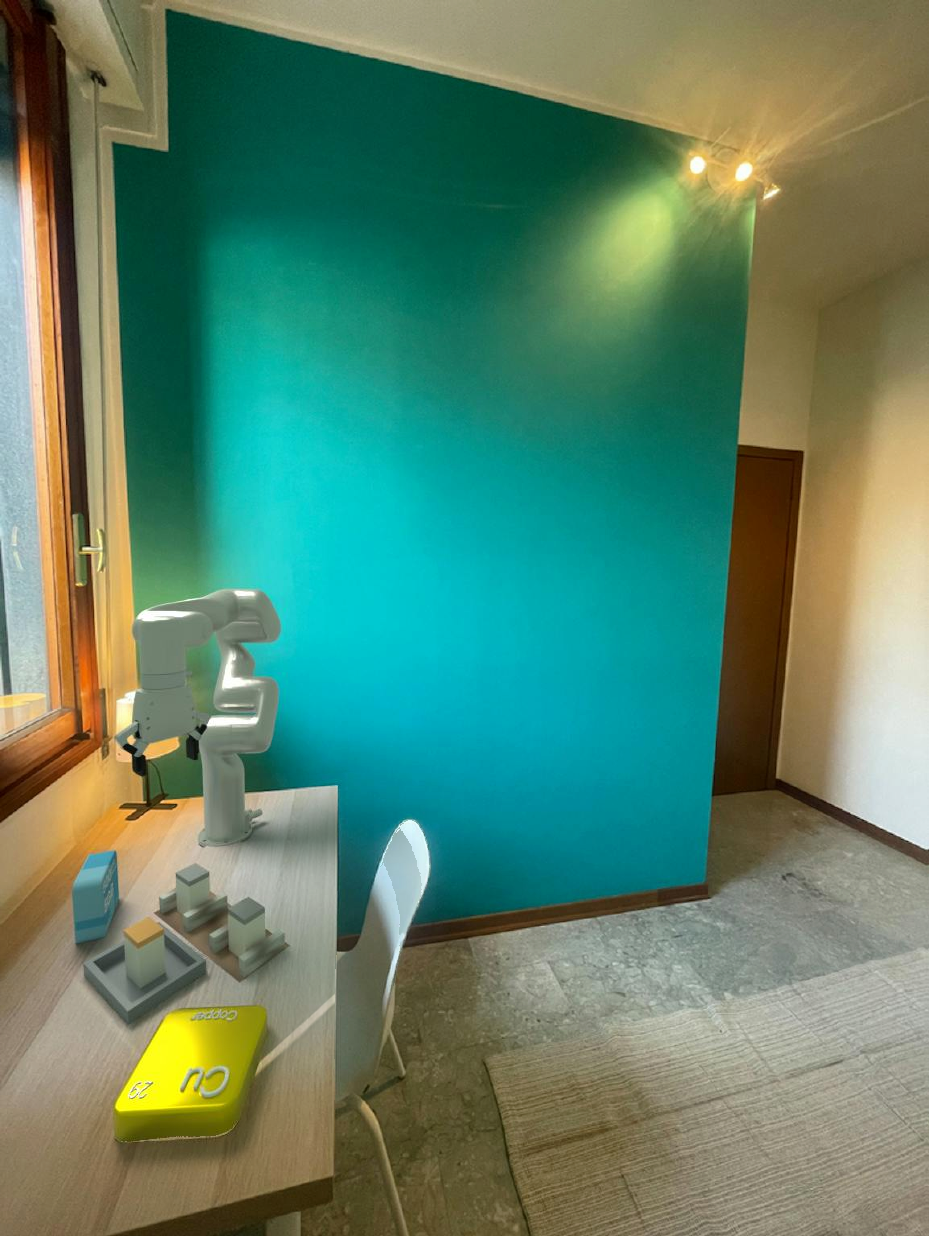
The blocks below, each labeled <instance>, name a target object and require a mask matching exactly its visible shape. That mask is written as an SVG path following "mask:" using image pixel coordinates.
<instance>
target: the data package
mask: <svg viewBox="0 0 929 1236" xmlns="http://www.w3.org/2000/svg"><path fill="white" fill-rule="evenodd" d="M118 872H119V871H118V853H117V850H115V849H114V850H108V851H103V852H96V853H92V854H91V853H90V854H88V856H87V857H86V858H85V861H84V862H83V864H82V867H81V868H80V870H79V872H78V875H77V876H76V878H75V880H74V881H73V885H72V889H71V890H72V891H71V901H72V916H73V928H74V942H75V943H76V944H80V943H85V942H89V941H93V940H98V939H102V938H105V937H106V935H107V933H108V930H109V928H110V924H111V922H112V919H113V917H114V913H115V911H116V908H117V905H118V902H119V900H120V890H119V873H118Z"/></svg>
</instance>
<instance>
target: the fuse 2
mask: <svg viewBox="0 0 929 1236" xmlns="http://www.w3.org/2000/svg"><path fill="white" fill-rule="evenodd" d="M265 929H266V907H265V906H264V905H263V904H261V903H259V902H258V901H256V900H254V899H253V898H252V897H250V896H247V897H245V898H244V899H242V900H240V901H238V902H236V903H235V904H233V905H231V907H230V908H228V932H229V950H230V951H231V952H232V953H234V954H235V955H236V956H238V957H240V956H241V955H243V954H244V953H245V952H247V951H248V950H250V949H251V948H253V947H254V946H256V945H257V944H259V943H260V942H262V941H263V940H264V939H265Z"/></svg>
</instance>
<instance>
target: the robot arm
mask: <svg viewBox="0 0 929 1236" xmlns="http://www.w3.org/2000/svg"><path fill="white" fill-rule="evenodd" d="M281 630H282V625H281V621H280V617H279V615H278V613H277V610H276V608H275V606H274V604H273V602H272V600H271V599H270V598H269V596H268V595H267V594H266V593H265V592H264V591H263V590H261V589H255V588H253V589H251V588H223V589H219V590H216V591H214V592H212V593H209V594H207V595H205V596H202V597H197V598H195V597H194V598H189V599H185V600H180V601H175V602H169V603H168V602H167V603H163V604H162V603H161V604H158V605H155V606H152V607H149V608H147V609H145V610H142V611H141V612H140V613H138V614H137V615H136V617H135V619H134V620H133V623H132V627H131V632H132V633H131V634H132V637H133V639H134V640H135V642H136V643H137V644H138V646H139V647H138V648H139V670H140V688H138V689H136V690H135V694H134V698H133V705H132V706H133V707H132V715H131V724H129V725H128V726H127V727H125V728H124V729H122V730H121V731H119V732H118V733H117V734H115V735H114V736H113V739H114V741H115V742H116V743H117V745H118V746H119V747H120V749H121V750H123V751H125V752H127V753H129V754H130V755H131V768H132V769H131V770H132V772H133V773H135V774H136V776H139V777H141V778H143V777H146V775H147V757H146V755H144V753H145V751H146V749H147V748H148V746H149V745H150V744H151V745H152V744H156V743H160V742H163V741H167V740H171V739H174V738H178V737H182V736H185V735H186V736H188V737H186V739H185V746H186V747H185V753H186V758H188V759H191V760H192V761H197V760H199V753H200V759H201V765H202V787H203V789H202V790H203V791H202V793H203V795H202V797H203V819H204V821H203V822H204V823H203V824H204V825H203V826H204V828H202V830H200V831H199V833H198V835H197V842H198V844H199V845H200V846H202V847H205V848H206V847H225V846H229V845H233V844H235V843H238V842H243V841H245V840H246V839H249V838H248V837H250V836H251V835H252V833H253V825H252V823H251V822H252V821H253V820H254V819H257V818H259V817H261V816H263V810H262V809H261V808H258V809H255V810H253V809H251V808H248V809H247V810H246V796H245V795H246V793H245V791H246V790H245V784H246V783H245V767H244V763H243V761H242V759H241V758H240V756H239V754H261V753H265V751H267V750H268V749H269V748H270V746H271V744H272V742H273V741H272V740H273V737H274V731H275V725H276V724H275V723H276V718H277V713H278V706H279V698H280V689H279V685H278V683H277V680H275V679H274V678H273V677H269V676H255V675H254V674H255V669H256V660H255V658H254V657H253V656H252V654H251V652H250V651H248V649H247V648H246V647H245V646H244V645H243V644H244V643H245V644H271V643H275V642H276V641H277V640H278V639H279V637H280V635H281V632H282V631H281ZM213 634H214V636H215V640H216V644H217V646H218V651H219V653H220V654H219V655H220V660H221V664H220V668H219V672H218V676H217V680H216V684H215V688H214V693H213V700H212V702H213V706H214V709H216V711H219V712H221V713H222V712H223V713H229V714H217V715H211V714H208V713H205V712H201V711H200V710H199V711H198V710H196V706H195V700H194V695H193V691H192V688H191V686H190V684H189V683H187V682H188V678H190V677H193V674H194V672H193V670H192V669H191V670H190V669H189V670H188V669H187V660H186V659H187V658H186V649H198V648H201V647H203V646H205V645H207V643H208V642H210V640H211V639H212V637H213ZM230 713H231V714H230ZM232 713H235V714H232ZM236 713H238V714H236ZM240 713H241V714H240ZM242 713H243V714H242ZM245 713H246V714H245ZM247 713H249V714H247ZM251 713H255V714H251ZM197 719H199V723H198V724H197ZM131 736H132V738H133V740H134V742H133V743H132V744H131V743H130V742H129V741H128V738H130V737H131Z"/></svg>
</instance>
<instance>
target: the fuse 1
mask: <svg viewBox="0 0 929 1236" xmlns="http://www.w3.org/2000/svg"><path fill="white" fill-rule="evenodd" d="M210 887H211V882H210V871H208V870H207V869H206V868H205V867H203V866H201V865H200V864H198V863H196V862H195V863H193V864H191V865H189V866H187V867H184V868H181V869H180V870H178V871H176V872H175V888H176V896H177V911H179V912H180V913H181V914H185V913H186V912H188V911H190V910H192V909H194V908H195V907H197V906H199V905H201V904H203V903H205V902H206V901H208V900H210V891H211V888H210Z"/></svg>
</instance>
